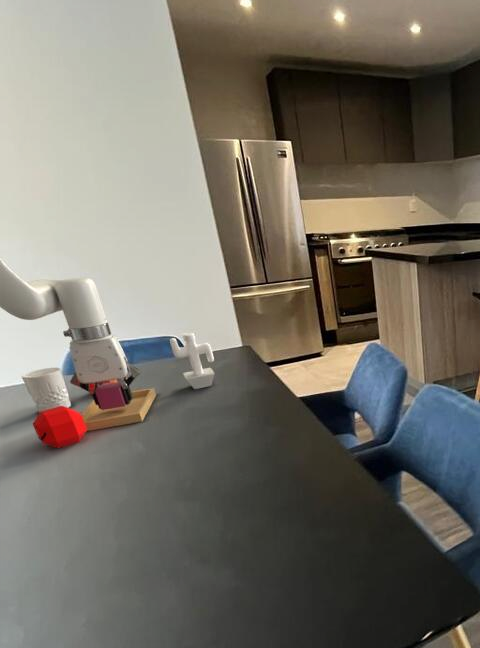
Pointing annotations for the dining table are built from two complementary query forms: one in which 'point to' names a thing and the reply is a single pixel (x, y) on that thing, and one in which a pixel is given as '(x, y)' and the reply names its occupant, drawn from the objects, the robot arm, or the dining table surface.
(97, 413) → the tray
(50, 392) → the white cup
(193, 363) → the figurine
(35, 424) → the red apple
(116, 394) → the pink block
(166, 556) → the dining table surface
